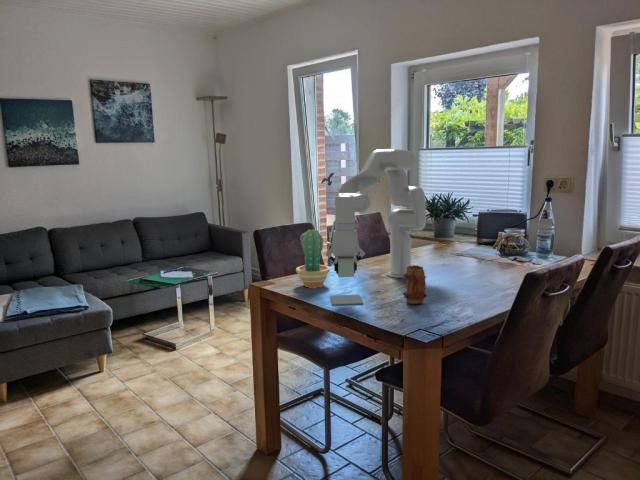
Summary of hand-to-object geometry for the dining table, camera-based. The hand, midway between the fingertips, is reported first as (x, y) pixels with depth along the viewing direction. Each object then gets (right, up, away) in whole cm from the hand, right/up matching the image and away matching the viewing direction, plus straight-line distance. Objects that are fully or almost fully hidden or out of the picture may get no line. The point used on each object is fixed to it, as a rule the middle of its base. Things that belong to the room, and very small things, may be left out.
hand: (345, 272), depth 196 cm
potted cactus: (-13, -8, +26) cm, 30 cm away
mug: (+27, -12, -6) cm, 30 cm away
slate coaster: (0, -11, +2) cm, 12 cm away
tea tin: (0, -1, 0) cm, 1 cm away
